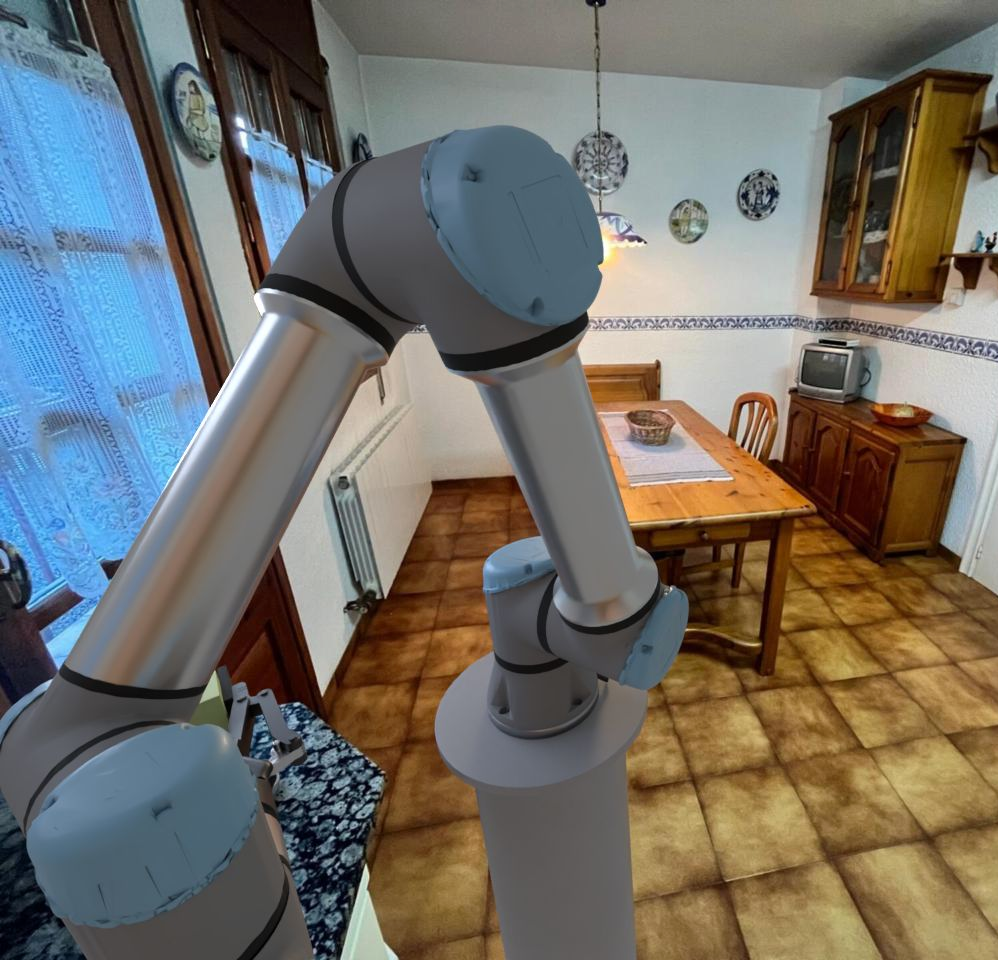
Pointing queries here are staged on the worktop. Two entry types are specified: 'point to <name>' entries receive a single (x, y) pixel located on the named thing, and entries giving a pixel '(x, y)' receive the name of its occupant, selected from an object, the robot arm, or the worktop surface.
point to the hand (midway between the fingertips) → (196, 688)
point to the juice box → (211, 706)
